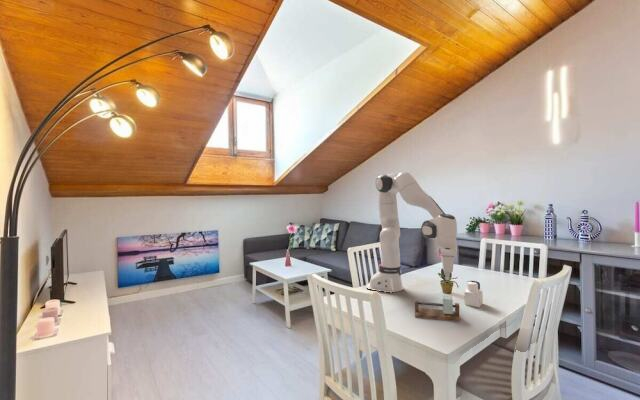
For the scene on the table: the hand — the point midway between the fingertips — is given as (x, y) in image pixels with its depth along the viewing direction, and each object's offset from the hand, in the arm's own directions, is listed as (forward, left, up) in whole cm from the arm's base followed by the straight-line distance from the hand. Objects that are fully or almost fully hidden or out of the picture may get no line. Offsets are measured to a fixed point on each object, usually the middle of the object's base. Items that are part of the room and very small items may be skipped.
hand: (446, 277), depth 148 cm
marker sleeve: (0, 0, -17) cm, 17 cm away
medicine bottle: (+14, +20, -20) cm, 31 cm away
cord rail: (-5, 0, -19) cm, 20 cm away
